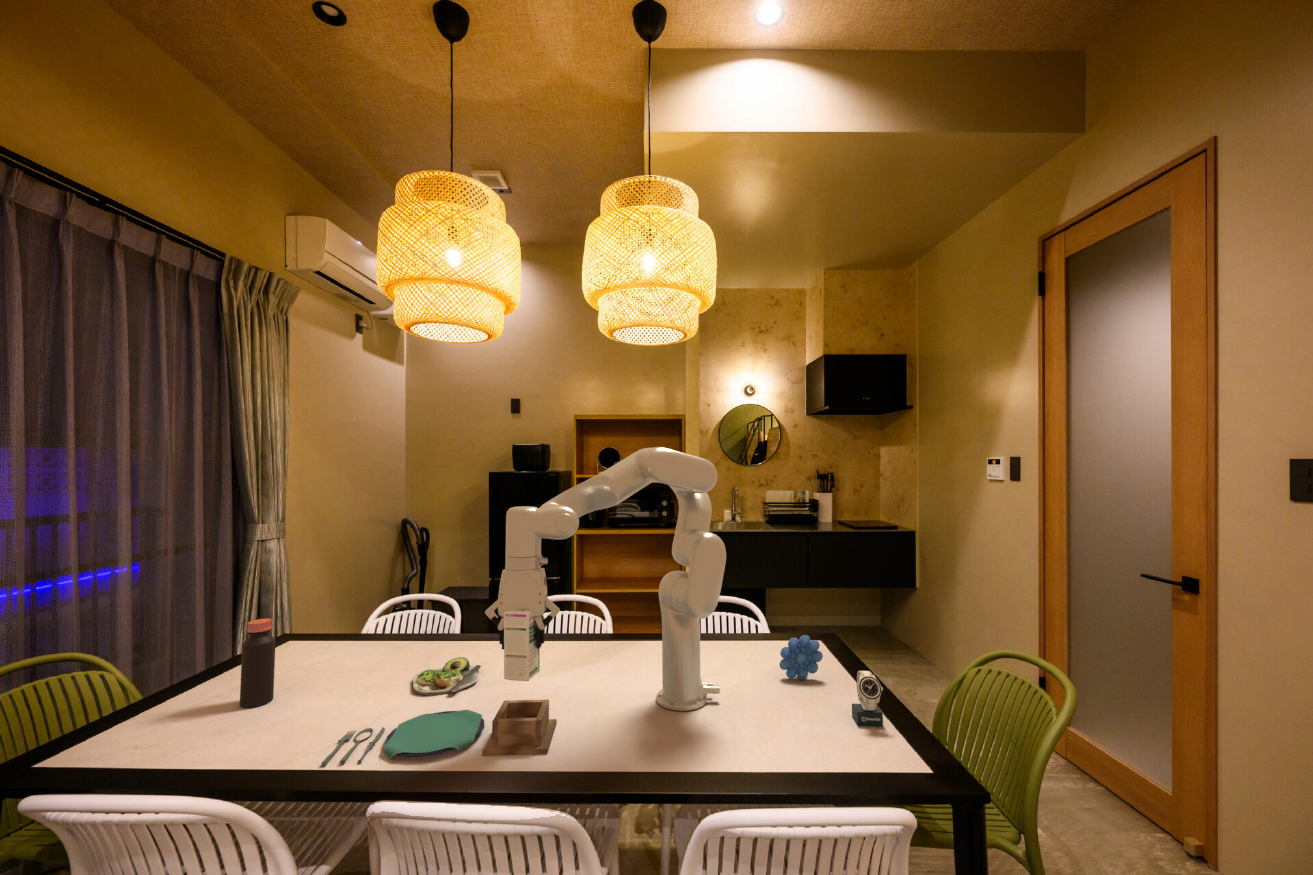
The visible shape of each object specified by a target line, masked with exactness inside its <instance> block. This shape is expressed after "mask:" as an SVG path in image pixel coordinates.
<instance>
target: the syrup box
mask: <svg viewBox="0 0 1313 875" xmlns="http://www.w3.org/2000/svg"><path fill="white" fill-rule="evenodd" d="M537 629H538V625H537V622H536V620H535V618H534V617H533V618H532V617H531V611H529V610H511V611H508V612H504V649H503V679H504V680H507V681H517V682H529V681H530V680H531V679H532V678H533V677H534V676H536V675H537V674H538V673H539V672H540V666H541V665H540V663H541V662H540V660H541V659H540V653H541V652H540V649H537V648H536V631H537Z"/></svg>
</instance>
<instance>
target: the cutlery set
mask: <svg viewBox="0 0 1313 875" xmlns="http://www.w3.org/2000/svg"><path fill="white" fill-rule="evenodd" d="M484 729H485V719H484V718H483V714H481V713H479V712H476V711H474V710H471V709H462V710H448V711H447V710H446V711H440V712H439V711H438V712H433V713H424V714H420V715H418V716H415V717H412V718H410V719H408V720H405V721H403V722H401V723H398V726H397V727H395V728H394V729H393V730H391V731H390V733H389V734H388V735H386V738H385V741H384V747H383V754H384V755H385V757H387V759H390V760H392V758H393V757H394V756H396V755H397V756H401V757H408V758H416V757H420V758H422V757H429V756H435V755H441V754H444V753H448V752H451V751H454V750H457V751H461V750H462V749H464V748H466V747H469V746H471V745H472V744H473V742H474V741H475V739H476V738H477V737H479V736H480V735H481V734H482V732H483V731H484ZM385 730H386V729H385V727H383V726H382V728H381V729H380V730H379V732H378V733H377V734H376V736H375V737H374V739H373V740H372V741H368V745H366V746H367V747H366V749H365V751H364V752H363V754H362V756H361V757H360V758H359V760H357V765H360V764H361V765H362V762H363V760H364V759H365V756H366V755H367V754H368V752H369V751H370V750H372V749H374V748H373V747H375V746H376V743H377V742H378V741H380V738H381V737H382V736H383V735H384V733H385V732H386V731H385ZM356 732H357V730H354V731H353V730H352V731H348V732H347V733H346V734H345V735H343V736H342V737H341V738H340V739H337V740H338V743H337V745H336V747H335V748H334V749H333V751H331V752H330V753H329V755H327V756H326V757H325V759H324V760H323V761H322V762H321V768H323V767H326V766H327V765H328V763H329V762H330V761H331V760H332V759H333V758H334V757H335V755H336V754H337V753H338V752H339V750H340V749H341V747H342V746H343V745H345V744H346V743H349V742H350V740H351V739H352V738H353V736H354V734H355V736H354V740H355V742H356V743H355V744H354V745H352V747H351V748H350V749H349V750H348V751H347V752H346V753H345V754H344V756H343V757H342V758H341V759H340V760H339V764H345V763H346V762H347V760H348V759H349V757H350V756H351V754H352V753H353V751H354V750H355V749H356V748H357V747H358V745H360V743H362V742H364V741H366V740H368V739H369V738H370V737H372V735H373V733H374V729H373V728H371V727H368V728H364V729H362V730H360V731H359V732H358V733H357V734H356ZM364 733H369V734H370V735H369V736H367V737H365V738H363V739H359V740H357V738H358V737H359V736H360V735H363V734H364Z"/></svg>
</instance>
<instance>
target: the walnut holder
mask: <svg viewBox="0 0 1313 875" xmlns="http://www.w3.org/2000/svg"><path fill="white" fill-rule="evenodd" d="M491 723H492V724H491V727H492V728H491V735H490V736H489V738H488V740H487V741H486V744H485V745H484V747H483V749H482V752H481V753H482V755H481V756H482V757H491V756H492V757H495V755H496V756H497V755H499V756H526V755H527V756H528V755H530V756H531V755H548V754H549V751H550V747H551V744H552V740H553V737H554V734H555V730H556V727H557V718H552V719H551V718H550V699H548V698H547V699H523V700H522V699H518V700H516V699H514V700H509V699H508V700H503V701H502V703H501V705H500V707H499V708H498V710H497V712H496V714H495V716H494V718H493V720H492V721H491ZM493 755H494V756H493ZM497 757H498V756H497Z"/></svg>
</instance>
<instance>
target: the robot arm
mask: <svg viewBox="0 0 1313 875" xmlns="http://www.w3.org/2000/svg"><path fill="white" fill-rule="evenodd" d="M652 483H659V484H664V485H668V486H669V487H670V489H671V490H672V492H673V493H674V494H675V496H676V499H677V502H678V515H677V521H676V524H675V525H676V526H675V531H674V536H673V541H672V545H671V546H672V547H671V555H672V557H673V560H674V561H675V562H676V563H678V564H679V565H681V566H684V567H688V568H689V569H688V572H687V571H683V570H673V571H672V570H671V571H670V572H668V573H667V574H666V573H665V575H664V576H663V577H662V579H661V580H660V582H659V586H658V602H659V607H660V613H661V614H660V615H661V626H662V628H661V630H662V631H661V633H662V636H661V638H662V640H661V643H662V644H661V646H662V647H661V648H662V649H661V651H662V652H661V654H662V658H661V659H662V673H661V674H662V688H661V689H660V690H659V691H658V692H657V693H656V698H655V699H656V702H657V703H658V705H660V706H661V707H663V708H665V709H668V710H671V711H680V712H681V711H685V712H686V711H687V712H688V711H693V710H697V709H700V708H701V707H703V706H705V705H706V704H707V702H708V694H709V695H711V694H712V695H719V694H720V693H721V692H720V691H721V689H720V685H719V684H718V685H716V684H715V685H714V683H713V682H704V681H702V678H701V626H700V624H701V623H700V620H702V619H706V618H708V617H709V616H711V615H712V614H713V613H714V612H715V610H716V608H717V607H718V603H719V599H720V594H721V591H722V586H723V580H724V574H725V569H726V568H725V567H726V562H727V551H726V550H727V549H726V545H725V543H724V542H723V540H722V539H721V537H720V536H718V535H717V534H715V533H713V532H711V531H710V527H711V521H712V510H713V508H712V500H711V499H710V496H709V492H710V491H711V490H713V489H714V487H715V486H716V484H717V483H718V471H717V468H716V467H715V465H714V463H712V462H711V461H710V460H708V459H706V458H703V457H700V456H697V455H696V456H695V455H692V454H688V453H686V452H681V451H678V450H674V449H672V448H669V447H668V448H667V447H663V446H655V447H645V448H642V449H638V450H637V451H635V452H633V453H632V454H630V455H628V456H627V457H625V458H623V459H621V460H620V461H618V462H616V463H615V464H614V465H612V466H610V467H608V468H607V469H605V470H603V471H602V472H599V473H598V474H596V475H595V476H592V477H590V478H589V479H586V480H585V481H582V482H580V483H578V484H576V485H574V486H572V487H570V488H568V489H567V490H564V491H563V492H561V493H560V494H558V495H556V496H554V497H553V498H551V499H550V500H548V501H546V502H545V503H543V504H542V505H541V506H539V508H538V507H536V506H529V505H528V506H526V505H525V506H523V505H522V506H521V505H520V506H513V507H510V508H508V510H507V511H506V516H505V519H506V520H505V564H504V565H505V566H504V568H505V569H502V572H501V574H500V576H501V577H500V582H499V589H498V597H497V599H496V601H494V602H493V603H492V604H491V605H490V606H489V607H488V608H487V609H486V610H485V611H484V614H485V615H486V616H487V617H488V618H489V620H491V622H492V623H493V624H494V625H495V626H496V628H497V630H498V631H499V639H498V640H499V645H501V650H504V612H508V611H511V610H529V611H531V617H532V618H533V617H534V618H535V620H536V622H537V625H538V629H537V631H536V648H537V649H539V650H540V649H541V647H542V646H543V644H545V642H546V641H545V636H546V635H545V634H546V631H545V630H546V627H547V626H548V625H549V624H550V623H551V622H552V621H553V620H554V618H555V617H556V616H557V615H558V614H559V612H560V611H561V610H560V607H558V606H557V605H556V604H555V603H554V602H553V601H552V600H551V599H550V598H549V597H548V585H547V576H546V571H545V570H546V569H545V567H542V566H543V565H547V564H548V563H549V562H548V561H549V560H548V557H544V556H542V539H550V540H566V539H568V538H570V537H572V536H573V535H575V533H576V532H577V531H578V528H579V526H580V519H579V518H581V517H582V516H583V517H584V515H587V514H589V513H592V512H595V511H599V510H605V509H608V508H612V507H615V506H617V505H619V504H621V503H622V502H623V501H626V500H627V499H628V498H630V497H631V496H633V495H634V494H636V493H638V492H639V491H640V490H642V489H644V488H645V487H647V486H649V485H650V484H652ZM495 610H497V613H496V611H495ZM547 610H550V613H549V614H548V615H547V616H546V617H544V614H545V613H546V611H547ZM497 614H498V615H497Z"/></svg>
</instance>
